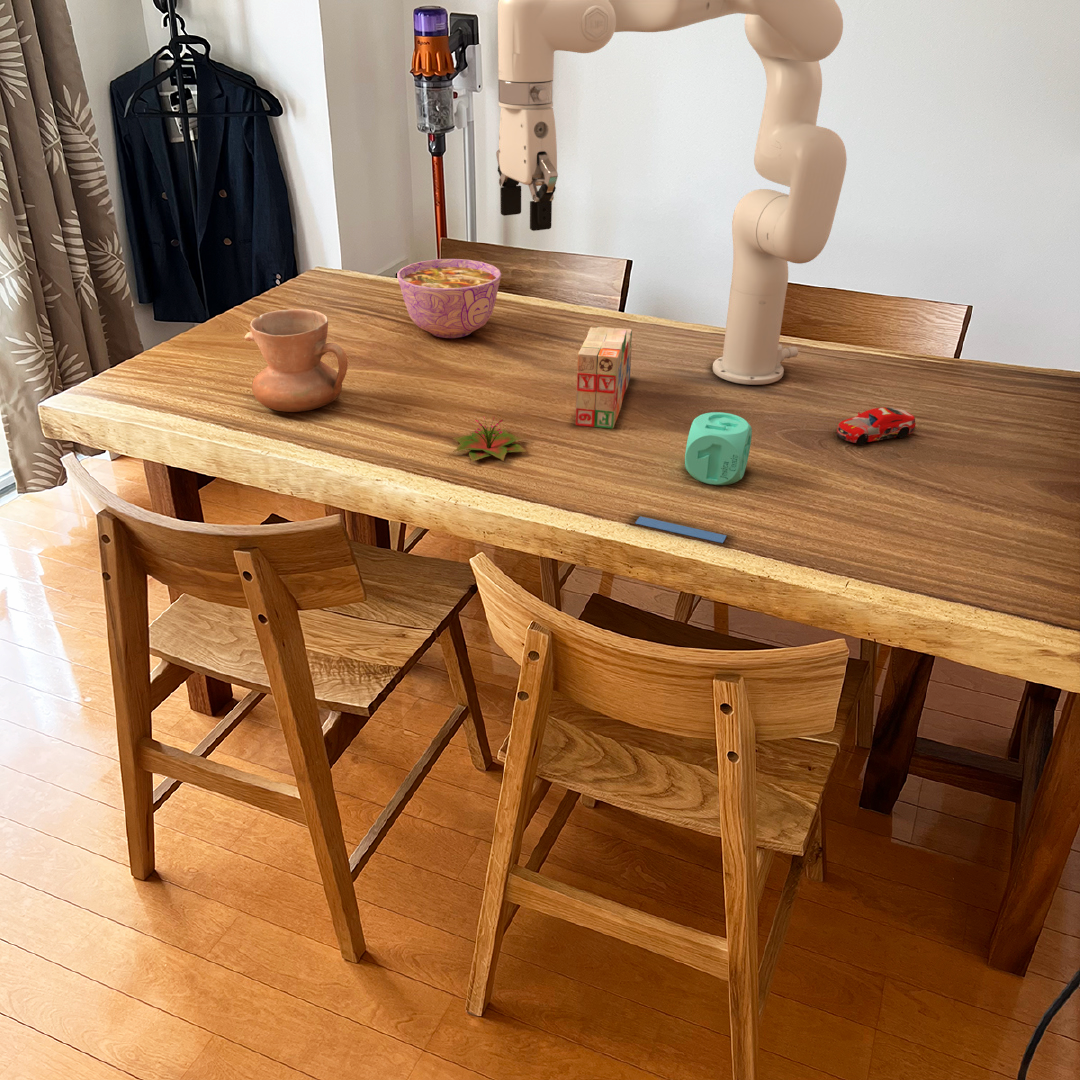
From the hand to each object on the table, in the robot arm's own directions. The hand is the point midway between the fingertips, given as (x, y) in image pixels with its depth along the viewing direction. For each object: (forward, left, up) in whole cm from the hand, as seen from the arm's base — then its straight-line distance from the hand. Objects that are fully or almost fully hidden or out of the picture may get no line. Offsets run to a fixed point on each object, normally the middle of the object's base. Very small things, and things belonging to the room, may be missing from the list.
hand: (525, 221), depth 143 cm
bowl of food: (-5, -43, -31) cm, 53 cm away
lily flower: (+10, +8, -31) cm, 34 cm away
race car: (-47, +30, -31) cm, 64 cm away
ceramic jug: (+31, -21, -31) cm, 49 cm away
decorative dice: (-17, +30, -31) cm, 46 cm away
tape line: (-3, +41, -31) cm, 52 cm away
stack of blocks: (-15, 0, -31) cm, 35 cm away
